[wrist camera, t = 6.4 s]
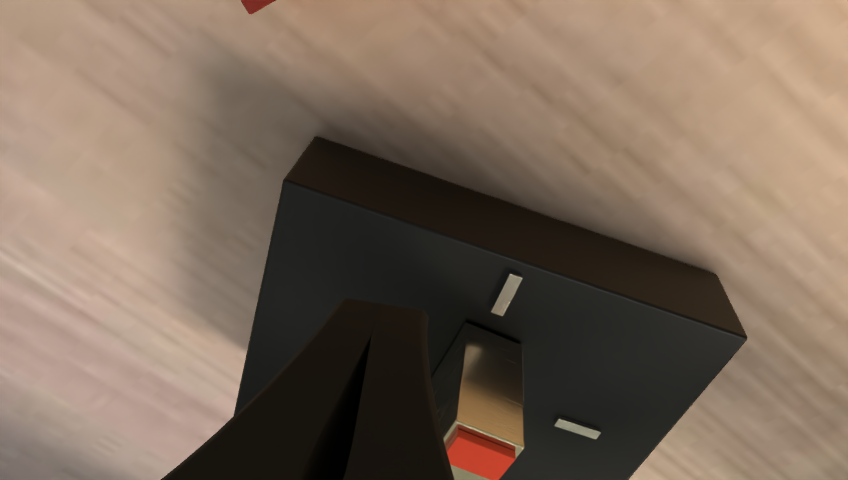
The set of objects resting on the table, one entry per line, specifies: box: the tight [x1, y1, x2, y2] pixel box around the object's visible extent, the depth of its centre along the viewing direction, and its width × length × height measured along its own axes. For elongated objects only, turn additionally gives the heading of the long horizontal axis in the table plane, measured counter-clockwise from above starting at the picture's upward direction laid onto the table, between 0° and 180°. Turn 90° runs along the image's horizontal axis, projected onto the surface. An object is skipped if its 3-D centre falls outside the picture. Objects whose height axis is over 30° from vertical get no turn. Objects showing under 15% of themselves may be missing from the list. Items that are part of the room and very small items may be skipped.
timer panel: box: [234, 136, 747, 480], centre depth 20 cm, size 13×10×3 cm
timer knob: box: [431, 323, 525, 480], centre depth 17 cm, size 5×2×4 cm, turn 157°
